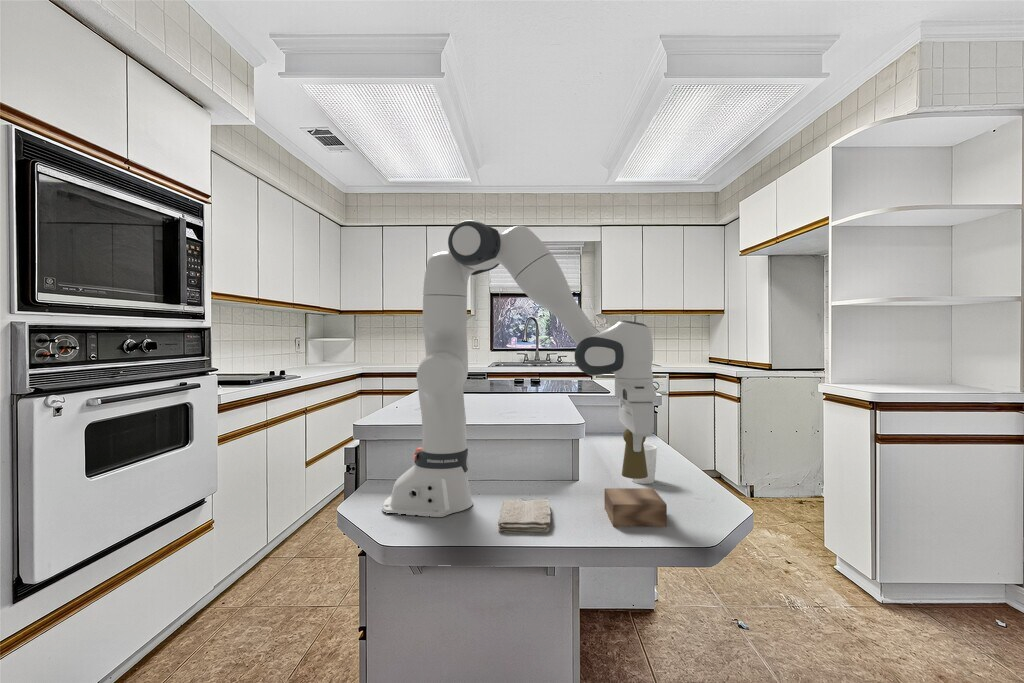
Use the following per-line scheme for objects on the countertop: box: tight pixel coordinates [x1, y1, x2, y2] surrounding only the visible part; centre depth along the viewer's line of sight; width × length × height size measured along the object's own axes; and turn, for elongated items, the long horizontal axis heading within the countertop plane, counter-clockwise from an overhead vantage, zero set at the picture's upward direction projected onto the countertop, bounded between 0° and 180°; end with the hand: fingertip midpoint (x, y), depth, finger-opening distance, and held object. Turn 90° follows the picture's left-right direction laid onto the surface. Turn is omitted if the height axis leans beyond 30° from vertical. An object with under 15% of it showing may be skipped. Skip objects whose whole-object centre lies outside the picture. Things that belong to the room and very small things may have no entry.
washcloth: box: [497, 499, 551, 534], centre depth 125 cm, size 12×18×3 cm, turn 178°
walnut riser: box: [604, 487, 668, 528], centre depth 125 cm, size 12×12×5 cm
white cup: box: [630, 443, 658, 485], centre depth 155 cm, size 8×8×10 cm
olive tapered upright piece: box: [621, 428, 648, 479], centre depth 125 cm, size 6×6×11 cm
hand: (634, 448), depth 125 cm, fingers closed on olive tapered upright piece, 4 cm apart
